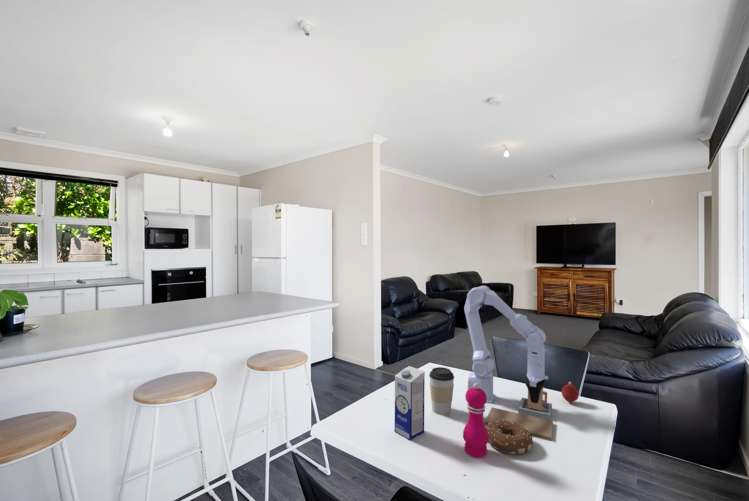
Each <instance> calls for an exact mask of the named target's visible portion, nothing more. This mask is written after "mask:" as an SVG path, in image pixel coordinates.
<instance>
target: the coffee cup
mask: <svg viewBox="0 0 749 501" xmlns="http://www.w3.org/2000/svg"><path fill="white" fill-rule="evenodd" d="M428 376H429V387H430V388H429V389H430V390H429V391H430V400H431V411H432V412H433V413H434V414H437V415H441V416H447V415H449V414H451V412H452V401H453V396H454V395H453V394H454V384H455V383H454V379H455V376H454V373H453V372H452V371H451V369H449V368H447V367H441V366H439V367H438V366H437V367H433V368H432V370H431V371H430V372H429V374H428Z"/></svg>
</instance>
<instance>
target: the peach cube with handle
mask: <svg viewBox="0 0 749 501" xmlns="http://www.w3.org/2000/svg"><path fill="white" fill-rule="evenodd" d="M527 399H528V404H527V409H532V410H536V411H540V412H543V411H542V410H543V409H544V408H543V403H544V404H547V403H548V391H544V387H543V388H542V389H541V391H540V395H539V400H538V403H533V402H531V399H530V394H529V390H528V389H527Z"/></svg>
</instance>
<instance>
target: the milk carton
mask: <svg viewBox="0 0 749 501" xmlns="http://www.w3.org/2000/svg"><path fill="white" fill-rule="evenodd" d="M425 372H426V371H424V370H422V369H420V368H416V367H414V366H410V365H408V366H407V367H405V368H403V369H402V370H401V371H399V372H398V373H396V374H395V375H394V432H395V433H396V434H398V435H399V436H402V437H403V438H405V439H407V440H408V441H411V440H413V439H415V438H417V437H420V436H421V435H423V434H425V384H426V383H425V378H426V377H425V374H426V373H425Z"/></svg>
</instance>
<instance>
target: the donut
mask: <svg viewBox="0 0 749 501" xmlns="http://www.w3.org/2000/svg"><path fill="white" fill-rule="evenodd" d="M486 429H487V432H488V436H489V441H488V443H487V444H489V445H491V446H492V447H493V448H494V449H496V450H498V451H500V452H502V453H505V454H510V455H523V454H526V453H528V452H529V451H530V450H532V448H533V446H534V442H533V436H531V434H530V432H529V431H528V430H527V429H526V428H525V427H523V426H522V425H520V424H519V423H515V422H511V421H508V420H507V421H506V420H498V421H493V422H490V423H489V424H488V425H486Z"/></svg>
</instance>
